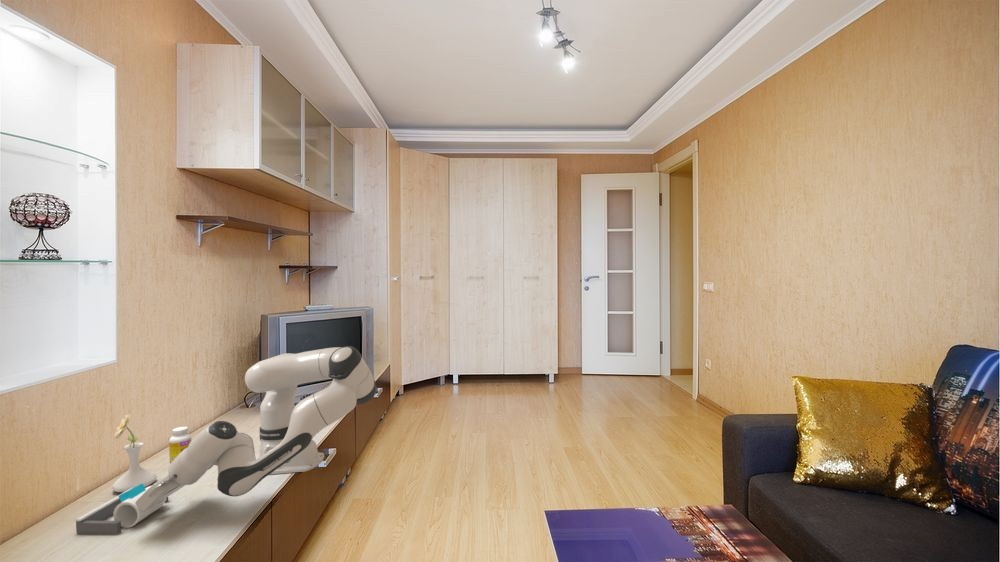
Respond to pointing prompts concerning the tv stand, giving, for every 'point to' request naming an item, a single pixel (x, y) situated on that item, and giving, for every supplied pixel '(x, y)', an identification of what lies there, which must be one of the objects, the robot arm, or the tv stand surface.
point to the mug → (132, 507)
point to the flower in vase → (132, 463)
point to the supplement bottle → (178, 442)
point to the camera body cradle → (100, 519)
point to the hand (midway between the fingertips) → (156, 501)
